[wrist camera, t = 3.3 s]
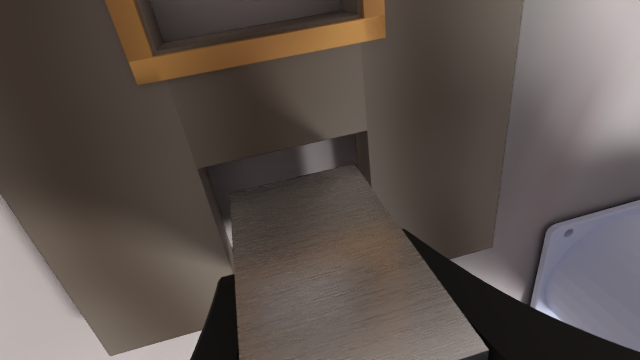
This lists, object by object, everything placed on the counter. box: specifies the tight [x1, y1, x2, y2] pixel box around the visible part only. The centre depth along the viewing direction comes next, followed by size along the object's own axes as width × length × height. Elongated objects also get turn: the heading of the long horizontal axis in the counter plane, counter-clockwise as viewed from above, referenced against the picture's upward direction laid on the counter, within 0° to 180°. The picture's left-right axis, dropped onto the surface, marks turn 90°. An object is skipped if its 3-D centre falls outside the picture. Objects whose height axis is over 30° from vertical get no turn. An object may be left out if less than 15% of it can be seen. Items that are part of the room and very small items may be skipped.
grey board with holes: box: [0, 0, 524, 356], centre depth 12 cm, size 16×17×2 cm
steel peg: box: [230, 164, 489, 360], centre depth 10 cm, size 4×4×7 cm
